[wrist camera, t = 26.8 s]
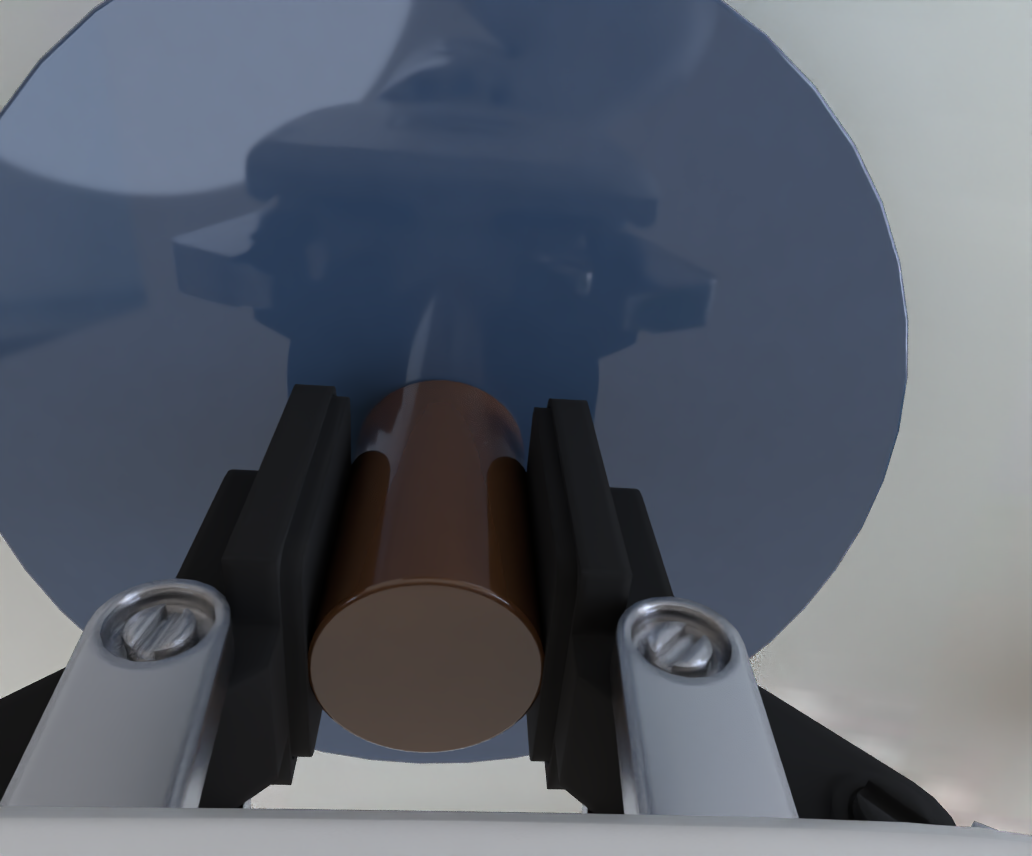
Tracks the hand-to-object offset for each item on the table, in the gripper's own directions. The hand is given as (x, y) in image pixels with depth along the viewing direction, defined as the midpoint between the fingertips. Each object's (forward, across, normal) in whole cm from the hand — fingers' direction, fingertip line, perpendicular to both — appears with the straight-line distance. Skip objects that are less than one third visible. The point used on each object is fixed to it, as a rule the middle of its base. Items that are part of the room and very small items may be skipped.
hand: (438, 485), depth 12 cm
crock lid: (+2, 0, 0) cm, 2 cm away
